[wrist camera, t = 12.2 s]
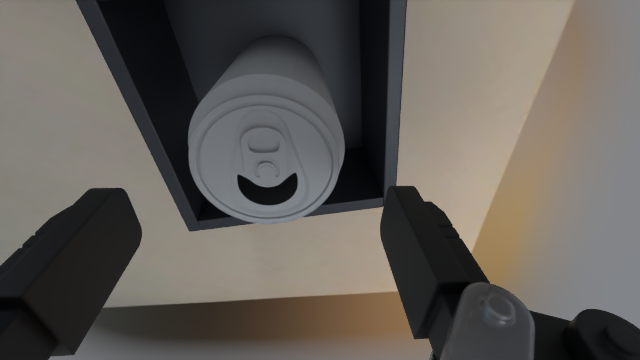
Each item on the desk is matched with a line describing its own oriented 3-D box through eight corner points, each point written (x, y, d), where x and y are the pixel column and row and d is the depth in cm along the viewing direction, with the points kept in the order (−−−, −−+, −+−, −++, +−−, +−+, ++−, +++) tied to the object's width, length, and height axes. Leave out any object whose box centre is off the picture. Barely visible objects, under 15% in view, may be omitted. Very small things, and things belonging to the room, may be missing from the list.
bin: (369, -46, 18) (411, -63, 11) (370, 150, 25) (395, 205, 19) (146, -18, 18) (64, -21, 11) (215, 170, 25) (189, 232, 19)
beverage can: (240, 125, 22) (198, 236, 12) (226, 32, 19) (152, 85, 9) (322, 123, 23) (344, 229, 13) (324, 33, 19) (356, 84, 9)
